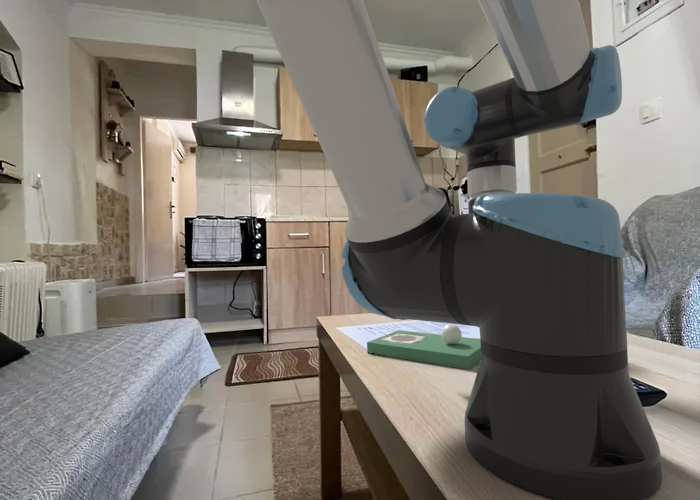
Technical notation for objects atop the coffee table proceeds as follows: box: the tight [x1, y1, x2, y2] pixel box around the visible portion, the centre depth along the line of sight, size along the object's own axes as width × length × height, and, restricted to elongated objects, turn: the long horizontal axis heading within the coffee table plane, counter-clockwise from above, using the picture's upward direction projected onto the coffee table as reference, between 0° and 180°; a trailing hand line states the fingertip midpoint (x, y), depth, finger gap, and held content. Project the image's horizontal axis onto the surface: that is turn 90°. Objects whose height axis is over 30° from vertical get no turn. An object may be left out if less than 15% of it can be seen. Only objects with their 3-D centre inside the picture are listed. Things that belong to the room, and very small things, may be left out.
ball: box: [440, 323, 463, 344], centre depth 64 cm, size 4×4×4 cm
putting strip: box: [366, 329, 481, 370], centre depth 67 cm, size 12×19×2 cm, turn 53°
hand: (498, 340), depth 59 cm, fingers closed
